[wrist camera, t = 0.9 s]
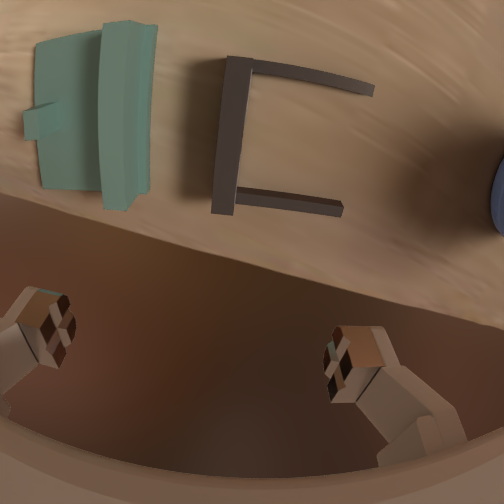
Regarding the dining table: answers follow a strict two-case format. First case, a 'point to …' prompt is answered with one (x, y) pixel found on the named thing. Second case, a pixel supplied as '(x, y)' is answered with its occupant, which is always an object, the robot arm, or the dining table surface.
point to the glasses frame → (232, 134)
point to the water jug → (498, 199)
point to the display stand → (95, 111)
